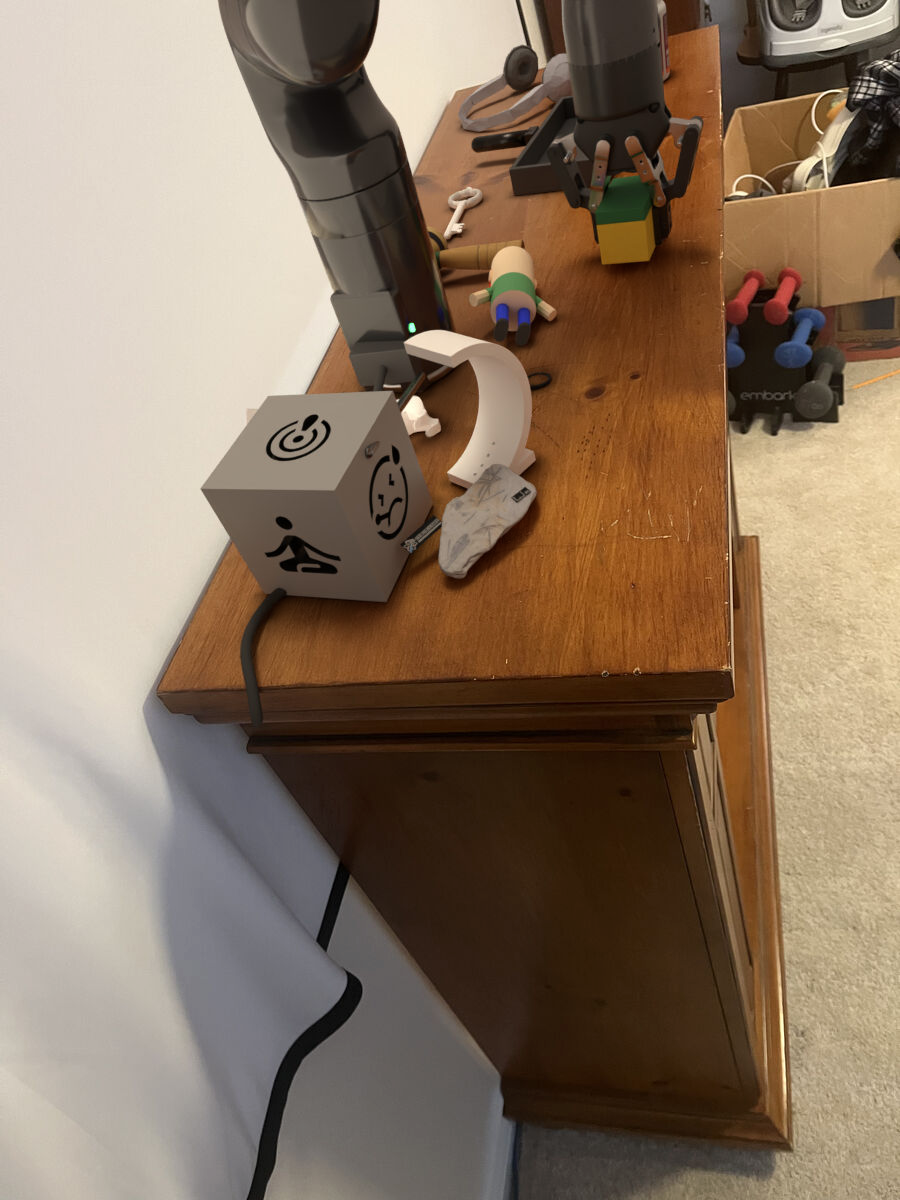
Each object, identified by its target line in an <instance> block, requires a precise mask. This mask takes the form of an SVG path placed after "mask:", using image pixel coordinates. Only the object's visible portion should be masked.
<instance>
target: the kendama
mask: <svg viewBox="0 0 900 1200" xmlns="http://www.w3.org/2000/svg"><path fill="white" fill-rule="evenodd" d="M427 229H428V233H429V236H430V240H431V243H432V247H433V250H434V254H435V258H436V261H437V265H438V268H439V272H440V271H441V270H442V269H443V268H444V269H452V270H467V271H480V270H481V271H491V266H492V261H493V259H494V257H495V256H496V254H497V253H498V252H499V251H500V250H502V249H503V248H506V247H509V246H517V247H521V248H523V249H524V250H526V246H525V241H524V240H523V239H515V240H508V241H500V242H494V243H493V242H491V243H483V244H474V245H465V246H459V247H453V248H449V246H448V245H449V244H448V242H447V239H445V238H444V234H442V233H441V232H440V231H439V230H438V229H436V228H435V227H432V226H427Z"/></svg>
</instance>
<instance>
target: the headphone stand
mask: <svg viewBox="0 0 900 1200" xmlns="http://www.w3.org/2000/svg"><path fill="white" fill-rule="evenodd" d="M404 346H405V349H406V352H407V354H410V355H413V356H417V357H420V358H423V359H427V360H430V361H433V362H436V363H440V364H443V365H446V366H449V367H453V369H455V368H456V367H457V366H459V365H460V364H463V363H464V362H465V361H467V360H468V362H469V363H470V365H471V367H472V369H473V371H474V375H475V378H476V381H477V387H478V409H477V410H478V412H477V417H476V421H475V426H474V429H473V431H472V436H471V438H470V440H469V441H468V444H467V446H466V447H465V450H464V451H463V453H462V455H461V456H460V457H459V458H458V460H457V461H456V462H455V464H454V465H452V466H451V468H450V469H449V470H448V471H447V472H446V475H447V478H448V480H449V481H450V482H451V483H453V484H455V485H458V486H461V487H463V488H465V489H467V490H468V489H469V488H470V487H471V486H472V485H473V484H474V483H475V482H476V481H477V480H478V479H479V478H480V477H481V475H482V474H483V472H484V471H485V469H487V468H489V467H490V466H491V465H493V464H502V465H504V466H506V467H508V468H510V469H511V470H513V471H514V472H515V473H516V474H517V475H519V476H521V475H522V473H524V472H525V471H526V470H527V469H528V468H529V467H530V466H531V465H532V464H533V463H535V462H536V460H537V459H536V454H535V451H534V450H531V449H528V448H526V445H527V443H528V439H529V435H530V430H531V425H532V424H531V422H532V417H533V416H532V415H533V414H532V413H533V399H532V398H533V397H532V390H530V385H531V384H530V380H529V379H528V377H527V376H528V375H527V373H526V370H525V368H524V366H523V364H522V363H521V361H520V360H519V358H518V357H517V356H516V355H515V354H514V353H513V352H512V351H511V350H509V349H508V348H506V347H504V346H502V345H500V344H498V343H493V342H490V341H487V340H483V339H478V338H475V337H471V336H468V335H464V334H461V333H458V332H457V333H453V332H449V331H445V330H431V331H426V332H423V333H420V334H417V335H415V336H413V337H412V338H410V339H408V340H407V341H405V342H404Z"/></svg>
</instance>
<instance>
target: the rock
mask: <svg viewBox="0 0 900 1200" xmlns="http://www.w3.org/2000/svg"><path fill="white" fill-rule="evenodd" d="M537 494H538V491H537V489H536V486H535V485H534V484H533V483H531V482H529V481H527V480H526V479H525V478H524V477H522V476H521V475H517V474H516V473H515V472H514V471H513V470H511V469H510V468H508V467H506V466H504V465H502V464H493V465H491V466H490V467H489V468H487V469H485V471H484V472H483V474H482V475H481V477H480V478H479V479H478V480H477V481H476V482H475V483H474V484H473V485H472V486H471V487H470V488H469V489H467V490H466V491H465V492H464V494H462V495H460V496H456V497H454V498H452V499H451V500H450V501H449V502H448V503H447V504H446V505H445V508H444V512H443V514H442V516H441V519H439V518H438V517H437V516H436V515H434V514H433V515H432V516H431V517H429V518H428V519H426V520H425V521H424V524H423V525H422V526H421V527H419V528H418V529H417V530H416V531H415V532H414V533H413V534H411V535H410V536H409V537H408V538H407V539H406V540H405V541H403V542H402V543H401V544H400V545H401V546H402V547H403V548H404V549H405V550H406V551H408V552H409V555H412V554H413V553H415V551H417V550H418V549H419V548H420V547H421V546H422V545H423V544H424V543H425V542H427V541H428V540H429V539H430V538H431V537H433V535H435V534H436V533H437V532H438V531H439V530H440V529H441V532H440V537H439V548H438V567H439V569H440V571H441V573H443V574H444V575H445V576H448V577H450V578H454V579H457V580H458V579H459V580H460V579H464V578H465V577H466V576H467V574H468V571H469V570H470V569H471V568H472V566H473V565H475V563H477V561H479V559H480V558H481V557H482V556H483V555H484V554H485V553H487V552H489V551H490V550H491V549H492V548H494V546H495V545H496V544H497V542H498V540H499V539H500V538H502V537H503V536H505V534H507V533H508V532H509V531H510V530H511V528H513V527H514V526H515V525H516V524H518V523H519V522H520V521H521V520H522V519H523V518H524V516H525V515H526V514H527V512H528V510H529V508H530V506H531V504H532V503H533V501H535V498H536V496H537Z"/></svg>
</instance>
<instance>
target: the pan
mask: <svg viewBox="0 0 900 1200" xmlns="http://www.w3.org/2000/svg"><path fill="white" fill-rule="evenodd" d="M575 126H576V115H575V109H574V102H573V95H571V96H566V97H561V98H560V99H559V100H558V102H555V104H554V106H553V107H552V108H551V110H550V111H549V113H548V114H547V116H546V117H545V119H544V120H543V121H542V122H541V124H540V125H539V128H538V130H537V131H536V133H535V134H534V135H533V137H532V138H531V140H530V141H529V142H528V144H527V145H526V146H525V147H523V149H522V150H521V152H520V153H519V155H518V156H517V158H516V159H515V160H514V162H513V163H512V164H511V166H510V167H509V169H508V172H509V177H510V181H511V182H510V183H511V187H512V192H513V196H524V195H533V194H542V193H549V192H560V191H561V192H562V191H563V189H562V187H561V185H560V183H559V181H558V178H557V176H556V174H555V172H554V170H553V167H552V165H551V163H550V161H549V159H548V156H547V150H548V148H549V147H550V145H551V144H552V142H553V141H554V139H555V138H556V137H557V136H559V135H562V136H564V137H565V136H567V135H569V134H571V133H573V132H574V129H575ZM576 151H577V155H576V157H575V161H576V163H577V165H578V168H579V170H580V172H581V175H582V177H583V179H584V181H585V184H586V186H587V188H591V180H592V174H593V168H594V164H593V163H592V162H591V161H590V160H589V159H588V158H587V157H586V155H585V154H584V153H583V152H582V151H581V150H580V149H579V148H578V146H576ZM612 177H613V176H611V178H610V180H611V179H612Z"/></svg>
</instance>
